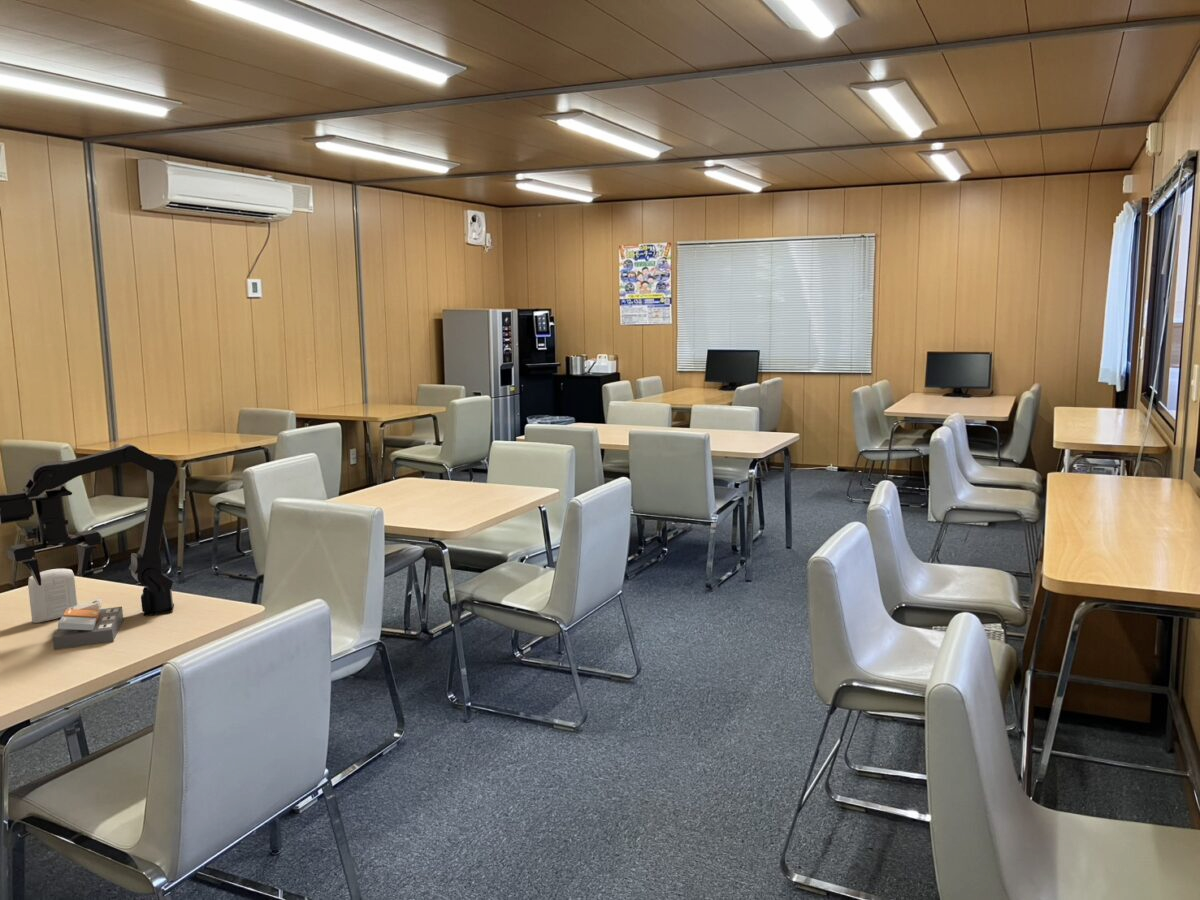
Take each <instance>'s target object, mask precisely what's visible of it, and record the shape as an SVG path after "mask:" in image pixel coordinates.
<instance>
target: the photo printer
mask: <svg viewBox="0 0 1200 900" xmlns="http://www.w3.org/2000/svg"><path fill="white" fill-rule="evenodd" d="M39 572H40V577H41V585H40V586H39V585H38V584H37V583H36V581H35V579H34V577H33V576H32V575H31V576H29V577H28V583H27V584H28V585H27V587H28V588H27V589H28V597H29V605H30V606H29V607H30V614H31V615H30V616H31V622H32V623H34V624H38V623H43V622H48V621H51V620H57V619H61V618H62V617H63V614H64V613H65V611H66V610H67V609H69V608H70V607H73V606H76V605H79V604H78V595H77V585H76V579H75V578H76V577H75V574H74V572H73V570H72V569H70V568H53V569H47V570H43V571H39Z"/></svg>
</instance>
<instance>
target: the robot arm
mask: <svg viewBox="0 0 1200 900" xmlns="http://www.w3.org/2000/svg"><path fill="white" fill-rule="evenodd" d="M130 462H131V463H132V464H135V465H137V466H138V467H141V468H143V469H145V470H146V480H147V486H148V496H147V497H148V498H147V504H146V505H147V506H146V511H145V518H144V519H145V520H144V524H143V525H144V526H143V532H142V539H141V544H140V547H139V549H138V551H137V553H134V552H131V555H130V565H129V566H128V569H129V571H130V572H131V573H130V574H131V576H132V577H133V578H134V580H136V581H137V583H139V584H140V585H142V586H143V589H142V593H141V595H140V601H141V603H140V604H141V612H143V616H144V617H145V616H146V617H148V616H154V615H161V614H162V615H163V614H169V613H173V612H174V608H175V603H174V601H173V599H174V598H173V593H172V592H173V591H172V586H173V584H174V581H173V580H172V579H171V578H169V576H167V575H166V574H165V573H163V561H162V557H161V556H162V555H161V544H162V543H161V542H162V537H163V531H164V530H163V529H164V524H165V523H164V521H165V515H166V510H167V502H168V495H169V493H170V492H171V489H172V488H173V486H174V484H175V481H176V479H177V476H178V471H179V469H178V468H179V467H178V464H177V463H176V462H175V461H174V460H172V459H169V458H168V457H164V456H159V455H158V456H154V455H151V454H150V453H147V452H146V451H143V450H141V449H139V447H137V446H135V445H133V444H130V443H129V444H123V445H122V446H119V447H117V448H116V447H115V448H112V449H108V450H103V451H101V452H98V453H93V454H89V455H86V456H82V457H79V458H74V459H69V460H54V461H46V462H45V461H44V462H39V463H37V464H35V465H33V467H32V468H31V469H30V471H29V479H28V481H27V483H26V485H24V487H23V489H22V491H21V492H14V493H13V492H12V493H1V494H0V525H6V524H12V523H17V522H18V523H19V522H20V523H21V522H25V521H30V518H32V517H33V516H34V515H35V512H36V517H37V520H36V527H35V528H34V526H33V525H29V526H24V527H22V535H23V540H24V541H26V542H25V543H19V544H16V545H10V546H9V547H8V548H7V551H6V552H7V558H8V559H9V560H12V561H14V562H16V563H19V564H22V565H24V566H25V568H27V570H28V571H29V573H30V574H31V576H33V577H34V579H35V581H36V583H37V584H38V585H39V586H40V585H41V577H40V572H41V571H40V568H39V561H38V559H37V558H35V555H36V554H39V553H40V554H41V553H43V552H48V551H53V550H58V549H62V548H67V547H72V546H75V548H76V551H77V559H78V571H79V575H80V576H84V575H85V572H86V568H87V567H88V562H89V560H90V558H91V556H92V554H93V552H94V550H95V549H98V545H100V544H103V536H102V534H101V533H100V532H99V531H96V530H93V529H87V530H83V531H80V532H79V531H77V532H76V533H75V536H73V537H71V536H70V535H69V528H68V525H69V519H67V517H66V516H67V515H66V510H65V508H66V507H65V502H64V501H65V500H64V497H68V496H72V495H73V492H72V491H71V490H69V489H68V488H66V486H64V485H65V484H67V483H69V482H71V481H72V480H73V479H75V478H77V477H80V476H83V475H88V474H91V473H94V472H97V471H102V470H104V469H108V468H112V467H115V466H119V465H123V464H127V463H130ZM56 488H57V489H56ZM33 501H34V505H33ZM34 506H35V510H34ZM32 540H33V543H34V545H31V544H29V543H27V542H29V541H32Z"/></svg>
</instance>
